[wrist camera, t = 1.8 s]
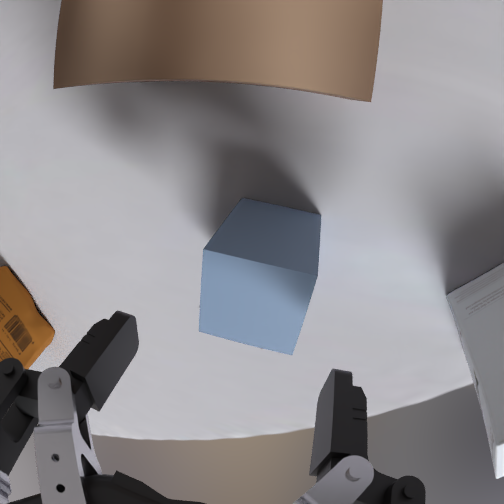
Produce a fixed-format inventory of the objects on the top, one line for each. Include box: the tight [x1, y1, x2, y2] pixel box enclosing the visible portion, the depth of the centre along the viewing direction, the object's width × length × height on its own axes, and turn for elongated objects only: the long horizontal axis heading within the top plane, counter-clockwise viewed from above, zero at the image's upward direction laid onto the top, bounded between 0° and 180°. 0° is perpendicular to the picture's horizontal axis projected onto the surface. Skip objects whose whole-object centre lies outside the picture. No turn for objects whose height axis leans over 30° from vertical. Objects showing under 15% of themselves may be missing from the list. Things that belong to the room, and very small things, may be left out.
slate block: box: [199, 198, 321, 355], centre depth 18 cm, size 5×5×7 cm
